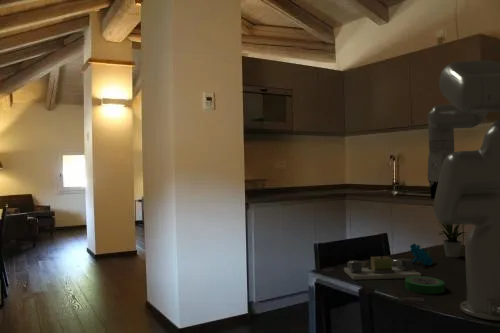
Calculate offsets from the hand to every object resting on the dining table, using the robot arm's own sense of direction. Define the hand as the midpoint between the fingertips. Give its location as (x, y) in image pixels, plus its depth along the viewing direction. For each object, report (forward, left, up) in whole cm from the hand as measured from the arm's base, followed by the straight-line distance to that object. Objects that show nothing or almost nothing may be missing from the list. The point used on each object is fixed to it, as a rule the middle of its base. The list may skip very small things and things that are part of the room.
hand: (443, 199), depth 131 cm
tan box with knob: (+10, +17, -25) cm, 32 cm away
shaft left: (+10, +26, -25) cm, 37 cm away
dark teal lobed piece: (+23, -3, -27) cm, 36 cm away
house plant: (+36, -20, -27) cm, 50 cm away
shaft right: (+11, +10, -25) cm, 29 cm away
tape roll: (-8, +11, -27) cm, 30 cm away
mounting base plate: (+10, +18, -26) cm, 33 cm away
